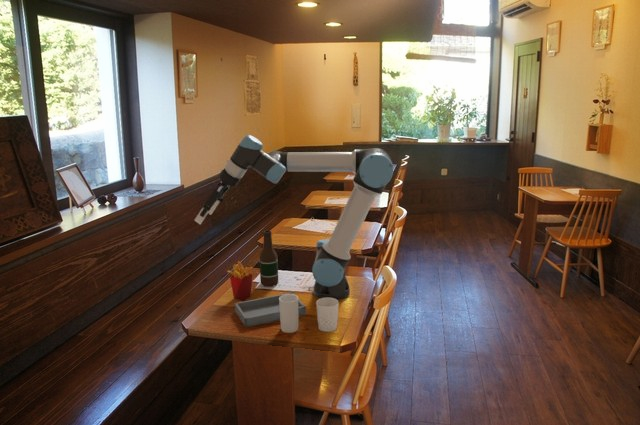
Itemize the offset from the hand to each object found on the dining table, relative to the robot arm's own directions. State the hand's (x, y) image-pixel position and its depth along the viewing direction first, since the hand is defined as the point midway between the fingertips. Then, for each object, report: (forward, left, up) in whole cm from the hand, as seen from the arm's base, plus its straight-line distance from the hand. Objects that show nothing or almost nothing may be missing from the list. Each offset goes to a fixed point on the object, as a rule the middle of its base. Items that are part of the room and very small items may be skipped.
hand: (202, 217), depth 199 cm
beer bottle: (-28, -10, -36) cm, 47 cm away
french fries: (-12, -1, -36) cm, 38 cm away
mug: (-23, +32, -36) cm, 54 cm away
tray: (-19, +18, -36) cm, 45 cm away
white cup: (-34, +38, -36) cm, 63 cm away
